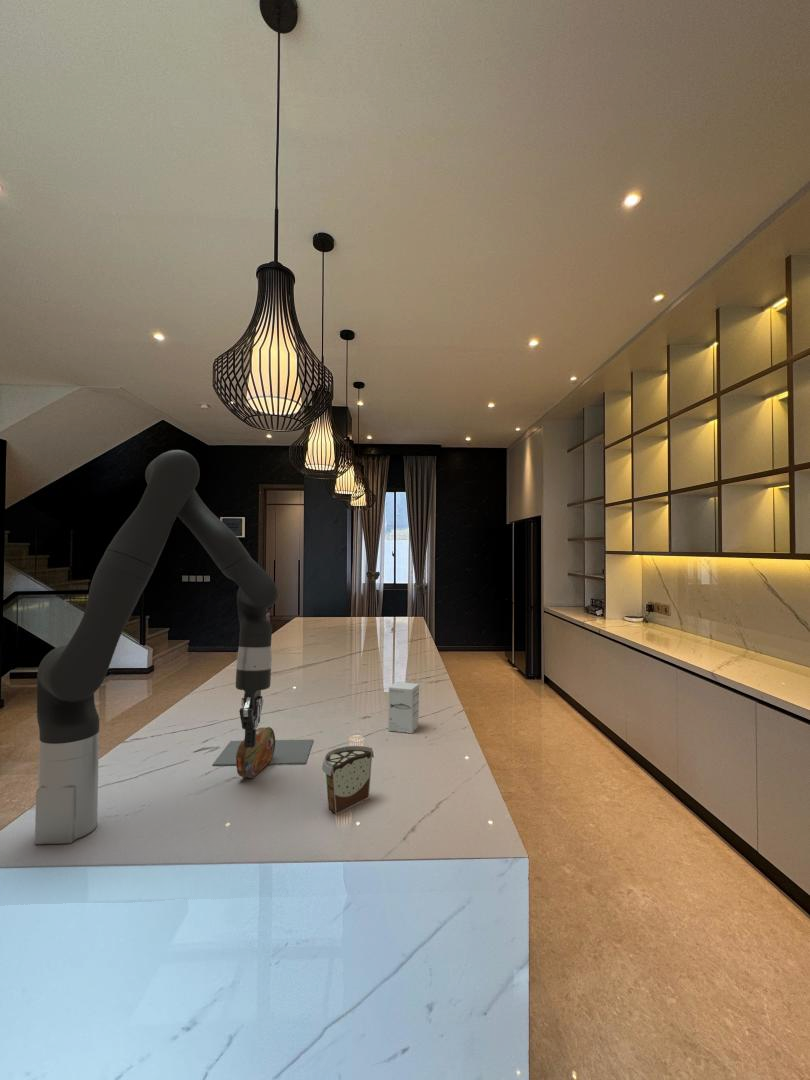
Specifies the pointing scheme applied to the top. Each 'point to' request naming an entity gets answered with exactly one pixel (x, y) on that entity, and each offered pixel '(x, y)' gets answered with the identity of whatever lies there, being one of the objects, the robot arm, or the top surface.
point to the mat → (282, 754)
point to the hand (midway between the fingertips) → (250, 746)
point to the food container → (347, 776)
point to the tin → (256, 753)
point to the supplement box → (403, 707)
